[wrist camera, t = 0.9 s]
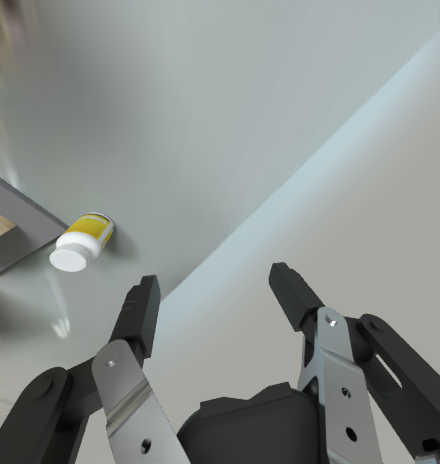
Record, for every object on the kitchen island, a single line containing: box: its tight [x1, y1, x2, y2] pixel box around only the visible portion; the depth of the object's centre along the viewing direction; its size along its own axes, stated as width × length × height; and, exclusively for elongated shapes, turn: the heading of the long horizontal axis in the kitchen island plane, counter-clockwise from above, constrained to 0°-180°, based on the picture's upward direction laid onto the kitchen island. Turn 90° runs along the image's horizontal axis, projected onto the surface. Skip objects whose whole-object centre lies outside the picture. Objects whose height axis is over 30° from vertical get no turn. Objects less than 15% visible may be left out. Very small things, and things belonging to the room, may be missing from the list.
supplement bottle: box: [50, 212, 114, 272], centre depth 25 cm, size 5×5×10 cm
